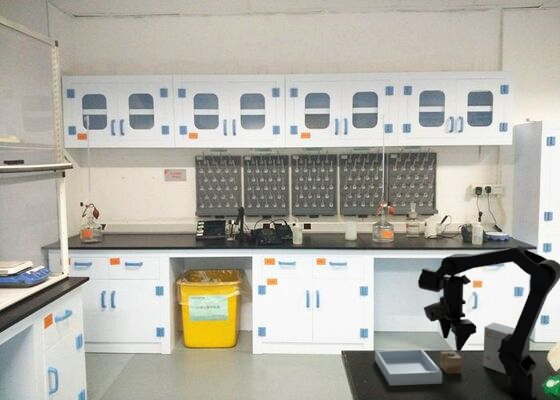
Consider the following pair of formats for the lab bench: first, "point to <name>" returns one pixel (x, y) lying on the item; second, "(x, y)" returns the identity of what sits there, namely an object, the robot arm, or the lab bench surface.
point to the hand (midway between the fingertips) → (451, 344)
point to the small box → (494, 345)
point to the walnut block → (450, 362)
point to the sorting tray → (407, 367)
